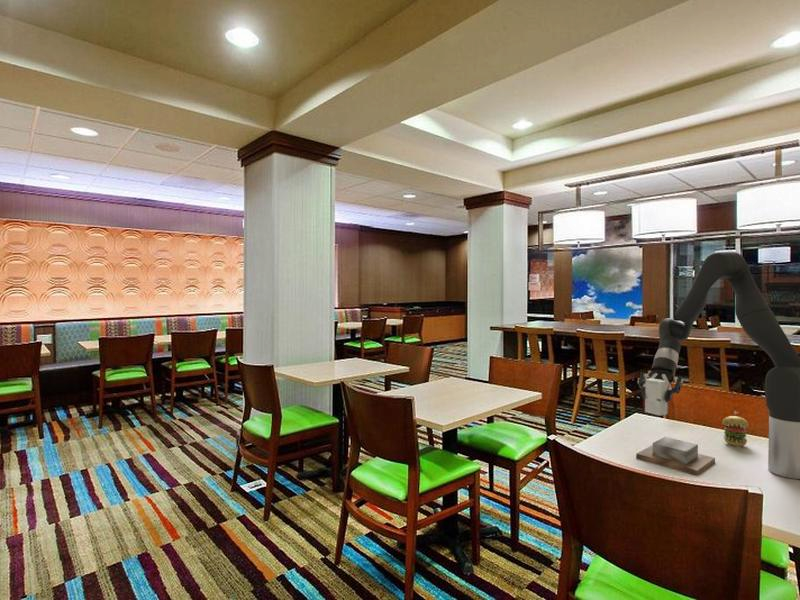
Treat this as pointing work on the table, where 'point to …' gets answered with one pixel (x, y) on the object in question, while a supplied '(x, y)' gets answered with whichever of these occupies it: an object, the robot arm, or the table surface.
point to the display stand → (676, 455)
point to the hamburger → (735, 430)
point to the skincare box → (656, 396)
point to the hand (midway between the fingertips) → (655, 399)
